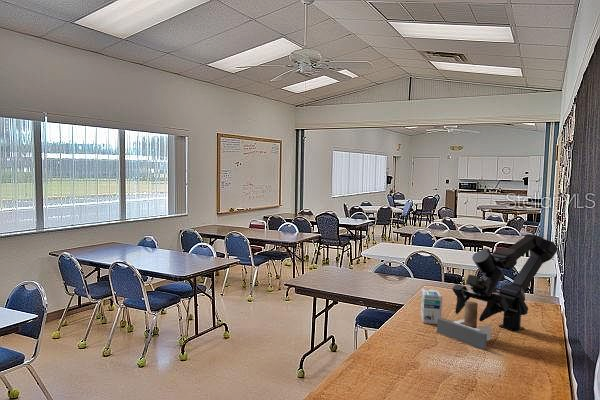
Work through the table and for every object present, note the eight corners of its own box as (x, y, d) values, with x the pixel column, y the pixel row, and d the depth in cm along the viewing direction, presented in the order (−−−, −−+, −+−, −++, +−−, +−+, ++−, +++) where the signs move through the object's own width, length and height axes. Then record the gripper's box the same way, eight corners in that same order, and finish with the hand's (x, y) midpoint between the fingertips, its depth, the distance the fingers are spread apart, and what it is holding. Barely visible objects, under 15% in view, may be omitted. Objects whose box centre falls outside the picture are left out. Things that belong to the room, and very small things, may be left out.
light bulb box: (441, 325, 170) (443, 296, 169) (422, 323, 171) (424, 294, 171) (437, 316, 181) (439, 289, 180) (419, 315, 182) (421, 288, 181)
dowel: (472, 335, 159) (473, 301, 159) (478, 339, 155) (480, 304, 155) (461, 336, 159) (462, 301, 158) (467, 340, 155) (468, 304, 154)
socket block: (465, 331, 164) (466, 318, 164) (490, 340, 156) (491, 326, 155) (449, 335, 159) (450, 322, 158) (474, 344, 151) (475, 331, 150)
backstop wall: (439, 332, 162) (440, 317, 162) (486, 349, 147) (487, 333, 147) (436, 332, 161) (437, 318, 161) (483, 349, 146) (484, 334, 146)
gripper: (457, 261, 165) (435, 295, 160) (505, 271, 150) (483, 309, 144) (468, 281, 170) (448, 314, 165) (517, 293, 155) (496, 330, 149)
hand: (467, 316), depth 156 cm, fingers open, 9 cm apart
